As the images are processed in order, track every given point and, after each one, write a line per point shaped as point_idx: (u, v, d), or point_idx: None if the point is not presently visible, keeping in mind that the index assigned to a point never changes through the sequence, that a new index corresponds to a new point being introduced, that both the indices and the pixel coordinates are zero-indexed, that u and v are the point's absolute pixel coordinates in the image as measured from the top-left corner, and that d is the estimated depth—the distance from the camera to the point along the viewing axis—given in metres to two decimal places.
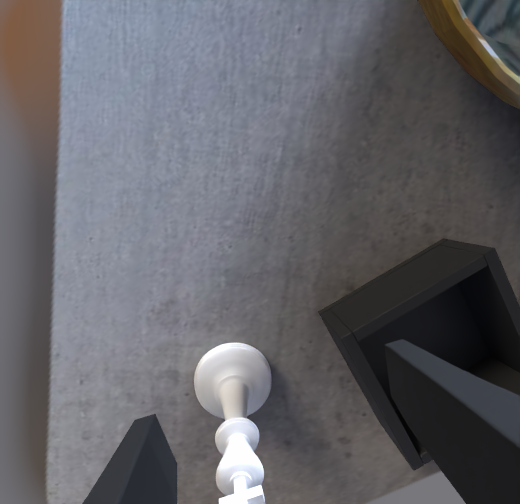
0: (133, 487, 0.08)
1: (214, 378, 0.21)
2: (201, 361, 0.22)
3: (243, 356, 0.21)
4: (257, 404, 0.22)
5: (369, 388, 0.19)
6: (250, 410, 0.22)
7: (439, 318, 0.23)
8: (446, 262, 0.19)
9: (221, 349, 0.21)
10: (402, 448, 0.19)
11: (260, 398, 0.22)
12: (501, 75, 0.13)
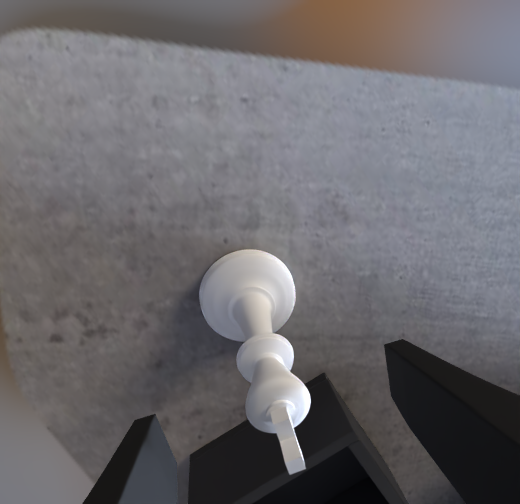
0: (133, 487, 0.08)
1: (264, 281, 0.17)
2: (273, 257, 0.17)
3: (287, 309, 0.18)
4: (225, 331, 0.17)
5: None
6: (217, 324, 0.17)
7: (314, 483, 0.22)
8: (399, 491, 0.20)
9: (292, 282, 0.18)
10: None
11: (234, 334, 0.17)
12: None
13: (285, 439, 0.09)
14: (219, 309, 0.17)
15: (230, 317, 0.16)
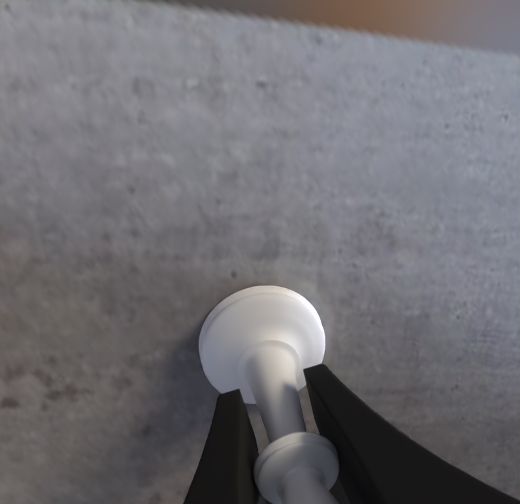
0: (241, 453, 0.08)
1: (285, 329, 0.12)
2: (297, 296, 0.13)
3: (315, 363, 0.13)
4: None
5: None
6: (222, 385, 0.13)
7: None
8: None
9: (321, 327, 0.13)
10: None
11: (244, 396, 0.13)
12: None
13: None
14: (225, 366, 0.13)
15: (240, 379, 0.12)
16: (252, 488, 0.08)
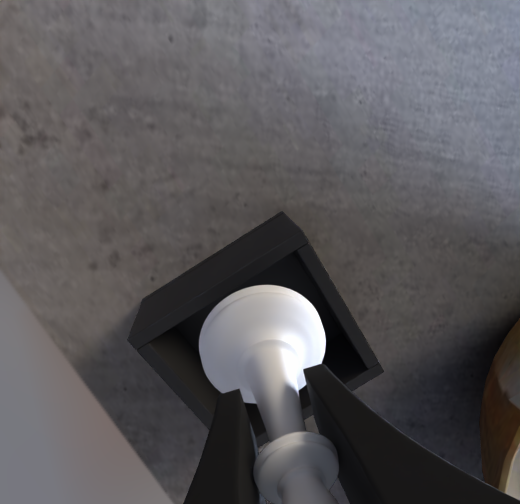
0: (242, 453, 0.08)
1: (286, 329, 0.12)
2: (297, 295, 0.13)
3: (315, 363, 0.13)
4: None
5: (238, 270, 0.16)
6: (222, 384, 0.13)
7: None
8: None
9: (322, 326, 0.13)
10: (158, 321, 0.16)
11: (244, 396, 0.13)
12: None
13: None
14: (225, 366, 0.13)
15: (240, 379, 0.12)
16: (252, 488, 0.08)
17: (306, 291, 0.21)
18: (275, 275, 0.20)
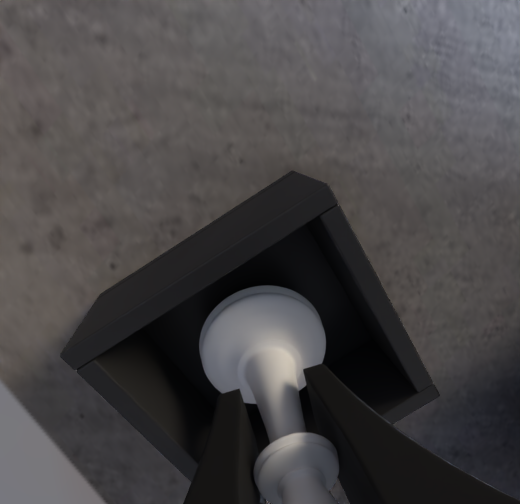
0: (241, 453, 0.08)
1: (286, 329, 0.12)
2: (298, 296, 0.13)
3: (316, 363, 0.13)
4: None
5: (230, 248, 0.10)
6: (222, 384, 0.13)
7: None
8: None
9: (322, 327, 0.13)
10: (106, 326, 0.10)
11: (244, 396, 0.13)
12: None
13: None
14: (226, 366, 0.13)
15: (241, 379, 0.12)
16: (252, 488, 0.08)
17: (325, 282, 0.15)
18: (283, 261, 0.15)
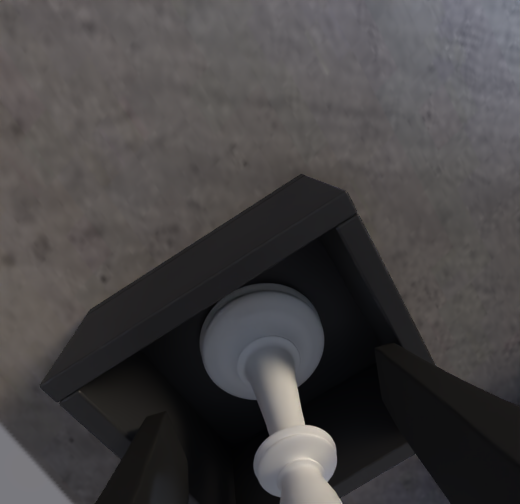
0: (148, 482, 0.08)
1: (285, 326, 0.13)
2: (296, 293, 0.13)
3: (314, 360, 0.14)
4: (233, 389, 0.13)
5: (234, 264, 0.09)
6: (222, 381, 0.13)
7: None
8: None
9: (320, 324, 0.14)
10: (93, 353, 0.09)
11: (244, 392, 0.13)
12: None
13: None
14: (226, 362, 0.13)
15: (240, 375, 0.12)
16: None
17: (336, 296, 0.14)
18: (291, 273, 0.13)
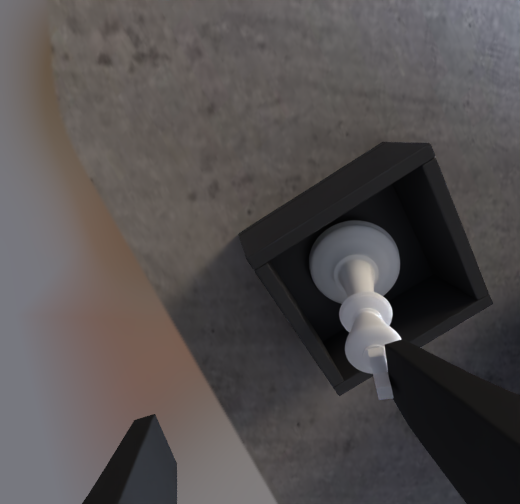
0: (133, 487, 0.08)
1: (371, 251, 0.18)
2: (382, 230, 0.18)
3: (390, 280, 0.19)
4: (328, 292, 0.19)
5: (363, 186, 0.15)
6: (322, 284, 0.19)
7: None
8: None
9: (398, 255, 0.19)
10: (279, 239, 0.15)
11: (336, 296, 0.19)
12: None
13: (378, 372, 0.11)
14: (326, 271, 0.19)
15: (335, 279, 0.18)
16: None
17: (401, 228, 0.20)
18: (373, 210, 0.20)
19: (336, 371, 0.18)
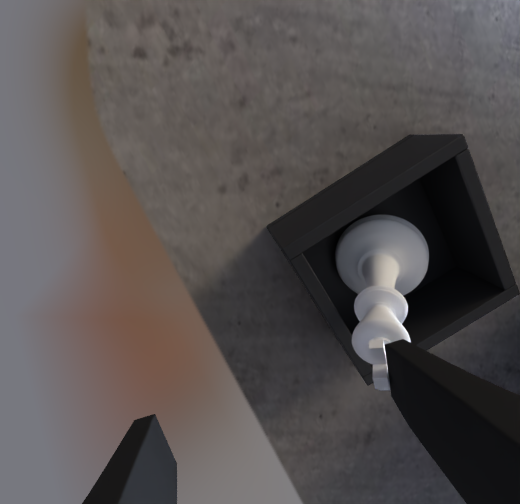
0: (133, 487, 0.08)
1: (397, 246, 0.18)
2: (411, 226, 0.18)
3: (417, 277, 0.18)
4: (353, 285, 0.20)
5: (398, 176, 0.15)
6: (346, 277, 0.20)
7: None
8: None
9: (427, 251, 0.18)
10: (314, 229, 0.16)
11: (360, 289, 0.19)
12: None
13: (378, 364, 0.11)
14: (350, 264, 0.19)
15: (359, 272, 0.18)
16: None
17: (426, 220, 0.20)
18: (399, 202, 0.20)
19: None
